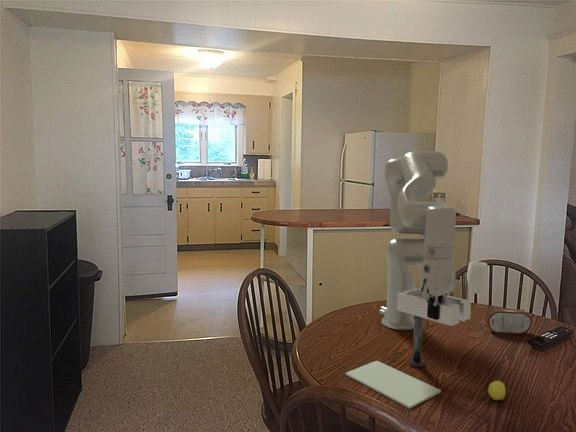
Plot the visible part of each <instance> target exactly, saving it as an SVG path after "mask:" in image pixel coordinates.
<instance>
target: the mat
mask: <svg viewBox="0 0 576 432" xmlns="http://www.w3.org/2000/svg"><path fill="white" fill-rule="evenodd" d="M345 376H347V377H349V378H351V379H353V380H354V381H357V382H358V383H360V384H362V385H364V386H365V387H367V388H370V389H372V390H373V391H375V392H377V393H379V394H381V395H383V396H385V397H387V398H389V399H390V400H392V401H394V402H396V403H398V404H400V405H402V406H403V407H405V408H407V409H409V410H411V409H412V408H414V407H416V406H417V405H418V406H419V405H420V404H422V403H424V402H425V401H427V400H429V399H431V398H433V397H435V396H437V395H439V394H441V393H442V390H441V389H440V388H437V387H435V386H432V385H431V384H428V383H426V382H424V381H422V380H419V379H418V378H415V377H413V376H411V375H409V374H407V373H405V372H402V371H400V370H398V369H396V368H394V367H392V366H390V365H387V364H385V363H383V362H381V361H379V360H375V361H373V362H369V363H367V364H364V365H361V366H360V367H357V368H355V369H352V370H349V371H347V372H345Z"/></svg>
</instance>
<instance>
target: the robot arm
mask: <svg viewBox="0 0 576 432" xmlns="http://www.w3.org/2000/svg"><path fill="white" fill-rule="evenodd" d="M448 169H449V161H448V159H447V157H446V154H444V152H441V151H435V150H434V151H432V150H431V151H425V150H424V151H423V150H422V151H420V150H419V151H418V150H417V151H410V152H407V153H405V154H404V155H403V157H396V158H391V159H389V160H388V161H387V162H386V164H385V166H384V178H385V184H386V185H387V189H388V191H389V196H390V197H389V198H390V202H389V203H390V204H389V205H390V208H389V209H390V212H389V213H390V214H389V215H390V217H389V218H390V221H389V222H390V223H389V224H390V229H391V231H392V232H393V233H394V234H396V235H408V236H409V235H412V236H413V235H415V236H416V235H419V236H421V237H422V238H410V237H409V238H403V237H402V238H401V237H400V238H394V239H393V238H392V239H391V240H389V241H388V242H387V244H386V249H385V250H386V260H387V288H386V289H387V291H386V307H385V306H381V307H380V309H379V313H380V314H383V317H382V319H381V323H382V325H383V326H384V327H386V328H389V329H393V330H398V331H410V330H414V319H415V318H414V315H412V314H409V313H405V312H402V311H398V310H397V293H400V292H404V291H407V290H411V289H414V288H416V277H415V275H414V272H412V270H411V269H410V268H409V266H421V271H420V281H419V289H420V291H421V293H422V296H421V299H423V300H426V302H427V304H428V309H427V317H428V318H431V319H434V320H438V315H439V306H438V302H440V303H445V298H446V296H447V295H448V294H450V293H452V292H454V291H455V289H456V261H455V256H454V251H455V249H454V248H455V234H456V233H455V232H456V222H457V221H456V218H457V212H456V209H455V207H453V206H451V205H450V204H449V203H448V202H445V201H423V200H422V201H421V200H420V199H422V198H425V197H427V196H429V195H431V194H432V193H433V191H434V190H435V189H436V186H437V182H436V181H439V180H441V179H443V178H445V176H446V175H447V172H448ZM419 200H420V201H419ZM431 296H432V297H431ZM433 297H434V299H433Z"/></svg>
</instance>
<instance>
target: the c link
mask: <svg viewBox="0 0 576 432" xmlns="http://www.w3.org/2000/svg"><path fill="white" fill-rule="evenodd" d="M421 296H422V293H421V291H420V287H419V288H417V287H415V288H414V289H411V290H407V291H404V292H400V293H397V310H398V311H402V312H405V313H409V314H412V315H413V316H415V315H416V316H419V317H422V318H423V319H427V320H430V321H433V322H437V323H440V324H442V325H443V324H444V325H447V326H449V327H453V326H455V325H458V324H460V321H461V322H465V321H468V320H470V319H471V310H472V309H471V308H472V305H471V304H472V300H469V299H465V298H462V297H461V298H460V297H456V296H451V295H448V294H447V296H446V298H445V303H440V302H438V306H439V315H438V320H434V319H431V318H428V317H427V309H428V304H427V302H426V300H423V299H421ZM431 297H432V296H431ZM433 299H434V297H433Z"/></svg>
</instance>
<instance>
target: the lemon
mask: <svg viewBox="0 0 576 432" xmlns="http://www.w3.org/2000/svg"><path fill="white" fill-rule="evenodd" d="M487 393H488V395H489V396H490V397H491V399H492V400H494V401H503V400H504V399H505V396H506V394H507V392H506V385H505V383H504V382H502V381H500V380H494V381H492V382H491V383H489V385H488V389H487Z"/></svg>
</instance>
